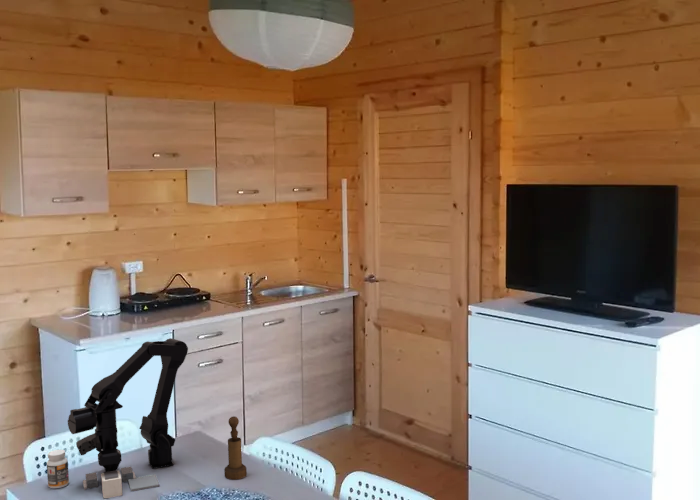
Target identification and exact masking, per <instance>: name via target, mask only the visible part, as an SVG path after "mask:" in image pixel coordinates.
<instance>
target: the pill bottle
mask: <svg viewBox="0 0 700 500" xmlns="http://www.w3.org/2000/svg"><path fill="white" fill-rule="evenodd" d="M47 458H48V460H47V462H46V473H47V474H46V476H47V486H48V488H51V489H61V488H64V487H66V486H67V485H68V484H69V482H70V480H69V479H70V478H69V475H70V474H69V461H68V458H67V457H66V450H65V449H55V450H51V451H49V452H48V453H47Z"/></svg>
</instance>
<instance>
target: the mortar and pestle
mask: <svg viewBox="0 0 700 500" xmlns="http://www.w3.org/2000/svg"><path fill="white" fill-rule="evenodd" d="M239 422H240V421H239V418H238V417H237V416H234V415H233V416H230V417H229V419H228V425H229V427H230V429H231V431H230V432H229V433H230V438H228V439H227V451H228V454H227V455H228V464H227V465H226V466H225V467H224V469H223V470H224V477H225V478H226V479H228V480H241V479H244V478H245V477H247V475H248V473H247V466H246V465H245V464H243V457H242V438H241V437H238V436H239V435H238V434H239V431H238V429H237V427H238V425H239Z"/></svg>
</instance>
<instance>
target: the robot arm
mask: <svg viewBox="0 0 700 500" xmlns="http://www.w3.org/2000/svg"><path fill="white" fill-rule="evenodd" d="M188 352H189V347H188V345H187V344H186V343H185V341H181V340H178V339H176V338H175V339H174V338H166V340H164V341H163V340H157V341H149V340H148V341H145V342H143V343H142V344H141V347H139V348H138V349H137V350H136V351H135V352H134V353H133V354H132V355H131V356H130V357H129V358H128V359H126V361H125V362H124V363H122V365H121V366H119V368H118V369H116V371H115V372H113V373H111V374H110V375H108V376H105V377H103V378H101V379H100V380H99V381H97V382H96V383H95V384H94V385H93V386H92V388H91V392H90V395H89V396H88V398H87V400H86V401H85V403H84V404H83V406H84V407H81V408H75V409H74V408H73V409H71V410H70V412H69V415H68V417H67V418H68V419H67V427H68V430H69V432H70V434H72V435H76V434H80V433H84V432H87V431H92V430H94V433H92V434H89V435H87V436H85V437H82V438H81V439H79V440H77V441H75V443H76V447H77V451H78V452H79V454H80V456H85V455H87V454H88V453H89V452H92V451H93V450H95V449H96V451H97V452H98V454H97V462H98V466H100V467H103V468H104V472H109V471H115V470H117V471H118V469H119V466H120V464H121V462H123V461H122V453H121V450H119V449H118V447H119V441H118V427H117V410H118V409H122V408H123V407H124V406H123V405H122V404H121V403H120V402H118V400H117V399H118V398H119V397H120V395H121V394H122V393H123V391H124V388H125V385H126V384H127V383H129V381H130V380H131V379H133V377H134V376H135V375H136V374H137V373H139V371H140V370H141V369H142V368H143V367H145V365H146V364H147V363H148V362H149V361H150V360H151V359H153V358H154V357H160V360H161V370H160V374H159V378H158V383H157V386H156V389H155V395H154V398H153V402H152V407H151V411H150V412H149V414H147V416H146V415H143V416H142V418H141V424H140V426H139V429H140V435H141V437H142V438H143V439H144V440H145V441H146V443H147V444H149V449H147V454H148V456H147V457H148V464H149V465H150V466H151V469H159V468H166V467H169V466H174V462H173V451H172V449H173V447H174V446H175V442H176V438H174V437H173V436H172V435H170V434H169V432H168V431H169V423H168V422H169V421H168V417H167V416H168V411H169V406H170V402H171V397H172V393H173V389H174V387H175V386H174V385H175V381H176V378H177V373H178V371H179V369H180V367H181V366H182V365H183V363H184V362H185V360H186V357H187V355H188ZM96 402H98V403H96Z"/></svg>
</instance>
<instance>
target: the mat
mask: <svg viewBox="0 0 700 500" xmlns="http://www.w3.org/2000/svg"><path fill="white" fill-rule="evenodd" d="M128 486H129V489H130V492H136V491H142V490H148V489H152V488H153V489H154V488H157V487H160V481H159V479H158V477H157V474H156V473H155V474H150V475H143V476H138V477H137V476H136V479H129V480H128Z"/></svg>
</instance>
